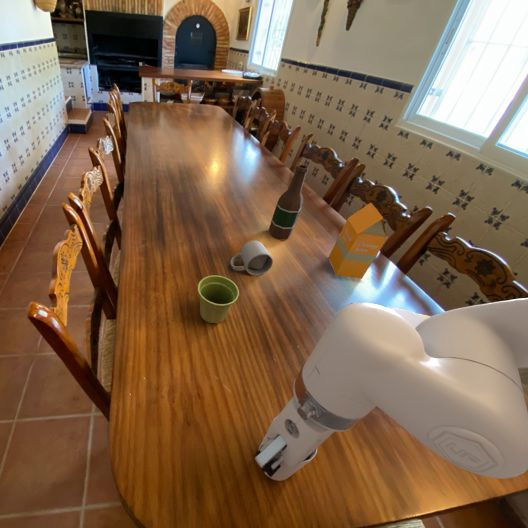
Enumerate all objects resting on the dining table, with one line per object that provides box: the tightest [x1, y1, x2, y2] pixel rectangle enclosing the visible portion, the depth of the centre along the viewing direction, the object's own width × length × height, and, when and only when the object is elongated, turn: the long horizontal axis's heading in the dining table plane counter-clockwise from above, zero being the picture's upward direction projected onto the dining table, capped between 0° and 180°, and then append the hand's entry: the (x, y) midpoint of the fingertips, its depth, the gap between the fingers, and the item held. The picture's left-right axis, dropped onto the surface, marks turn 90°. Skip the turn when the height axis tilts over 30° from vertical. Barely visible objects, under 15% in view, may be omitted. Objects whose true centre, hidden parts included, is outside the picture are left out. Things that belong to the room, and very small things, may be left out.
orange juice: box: [328, 202, 388, 280], centre depth 84 cm, size 8×9×20 cm
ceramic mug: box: [229, 240, 274, 276], centre depth 85 cm, size 11×8×8 cm
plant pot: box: [197, 274, 240, 324], centre depth 70 cm, size 9×9×9 cm
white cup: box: [257, 415, 319, 482], centre depth 46 cm, size 7×7×10 cm
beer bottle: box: [268, 164, 309, 241], centre depth 95 cm, size 8×8×24 cm
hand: (284, 447), depth 45 cm, fingers open, 8 cm apart
